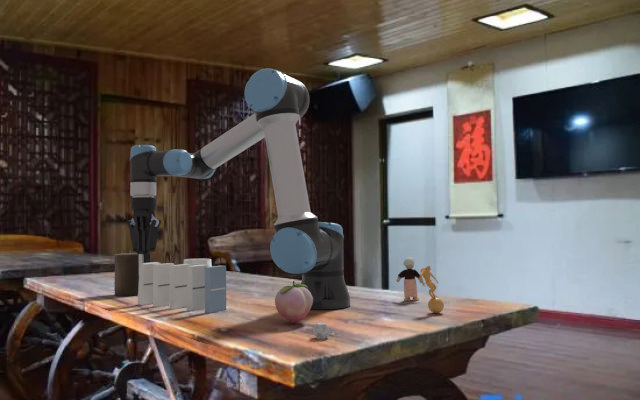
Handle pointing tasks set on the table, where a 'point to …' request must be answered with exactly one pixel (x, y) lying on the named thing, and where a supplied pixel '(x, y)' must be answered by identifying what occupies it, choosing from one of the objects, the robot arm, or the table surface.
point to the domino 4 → (196, 287)
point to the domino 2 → (161, 285)
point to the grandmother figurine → (409, 280)
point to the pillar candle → (126, 274)
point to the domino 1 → (146, 283)
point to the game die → (321, 331)
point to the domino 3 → (178, 285)
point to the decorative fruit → (293, 302)
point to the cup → (198, 262)
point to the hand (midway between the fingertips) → (144, 275)
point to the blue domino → (215, 289)
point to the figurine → (431, 291)
